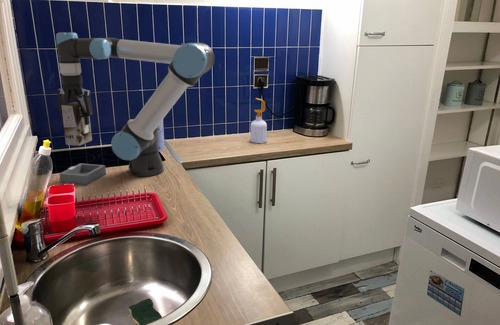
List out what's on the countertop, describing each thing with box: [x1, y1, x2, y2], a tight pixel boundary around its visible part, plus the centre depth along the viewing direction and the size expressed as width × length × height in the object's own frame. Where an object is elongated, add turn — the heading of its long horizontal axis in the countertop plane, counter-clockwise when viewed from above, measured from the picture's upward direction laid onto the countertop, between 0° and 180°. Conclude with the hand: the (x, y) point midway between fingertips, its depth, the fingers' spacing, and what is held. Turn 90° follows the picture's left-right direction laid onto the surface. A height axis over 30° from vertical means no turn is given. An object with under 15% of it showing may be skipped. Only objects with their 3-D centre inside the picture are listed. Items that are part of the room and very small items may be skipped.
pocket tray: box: [59, 162, 107, 186], centre depth 171 cm, size 12×14×4 cm
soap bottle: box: [250, 97, 268, 144], centre depth 228 cm, size 9×9×25 cm
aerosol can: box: [157, 119, 166, 153], centre depth 211 cm, size 8×8×20 cm
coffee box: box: [61, 101, 93, 147], centre depth 164 cm, size 9×6×16 cm
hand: (78, 132), depth 165 cm, fingers closed on coffee box, 6 cm apart
